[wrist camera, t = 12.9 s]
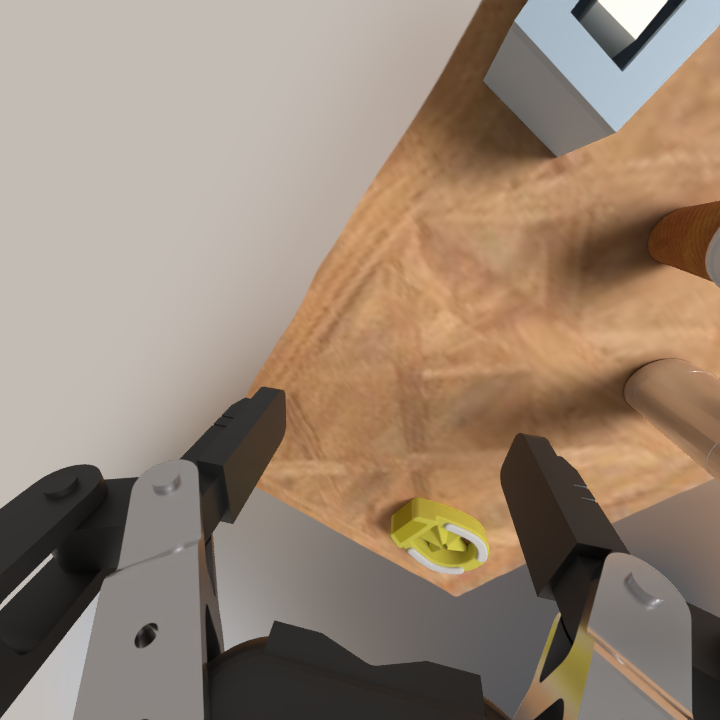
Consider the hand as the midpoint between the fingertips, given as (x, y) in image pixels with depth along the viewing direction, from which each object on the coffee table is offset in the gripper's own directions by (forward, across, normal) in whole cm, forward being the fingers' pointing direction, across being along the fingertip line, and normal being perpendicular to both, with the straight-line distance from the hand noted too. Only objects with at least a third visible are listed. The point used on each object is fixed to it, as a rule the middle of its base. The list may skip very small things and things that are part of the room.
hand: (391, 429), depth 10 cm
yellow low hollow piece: (+36, -16, +55) cm, 68 cm away
